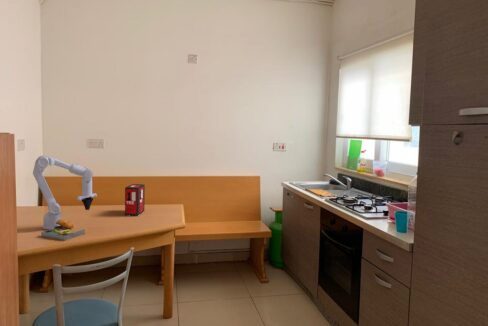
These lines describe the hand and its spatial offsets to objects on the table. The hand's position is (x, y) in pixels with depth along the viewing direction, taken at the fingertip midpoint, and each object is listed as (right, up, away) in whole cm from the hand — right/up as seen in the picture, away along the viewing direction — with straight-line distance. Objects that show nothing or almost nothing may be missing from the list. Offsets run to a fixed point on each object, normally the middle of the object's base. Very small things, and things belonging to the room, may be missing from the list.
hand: (87, 209), depth 233 cm
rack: (-5, -12, -21) cm, 24 cm away
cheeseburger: (-5, -12, -21) cm, 25 cm away
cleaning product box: (+19, -7, +36) cm, 42 cm away
